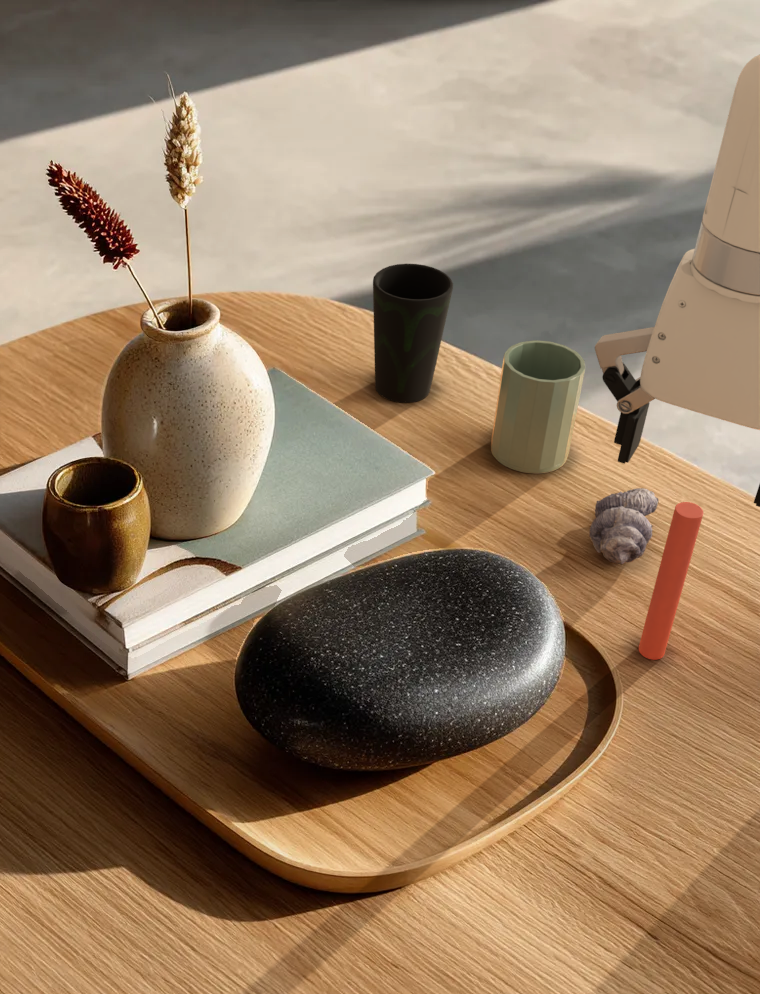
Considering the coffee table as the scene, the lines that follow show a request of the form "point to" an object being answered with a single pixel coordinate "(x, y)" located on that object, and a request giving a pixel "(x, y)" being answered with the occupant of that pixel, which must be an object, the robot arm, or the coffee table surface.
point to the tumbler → (537, 406)
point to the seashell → (623, 524)
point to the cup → (408, 328)
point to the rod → (670, 579)
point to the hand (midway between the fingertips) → (694, 474)
